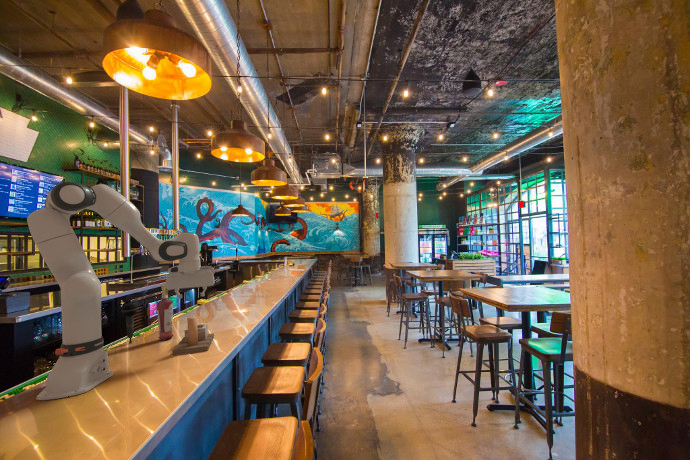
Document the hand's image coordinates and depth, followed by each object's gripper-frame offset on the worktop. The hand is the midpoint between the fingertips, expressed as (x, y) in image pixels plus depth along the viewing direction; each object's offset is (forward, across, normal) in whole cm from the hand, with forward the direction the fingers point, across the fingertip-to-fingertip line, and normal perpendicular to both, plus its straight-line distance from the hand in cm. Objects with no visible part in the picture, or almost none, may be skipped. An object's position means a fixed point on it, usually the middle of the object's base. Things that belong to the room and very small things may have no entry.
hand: (191, 297), depth 146 cm
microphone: (+24, +33, -24) cm, 47 cm away
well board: (+23, 0, -5) cm, 24 cm away
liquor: (+24, +17, -24) cm, 38 cm away
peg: (+21, 0, 0) cm, 21 cm away
